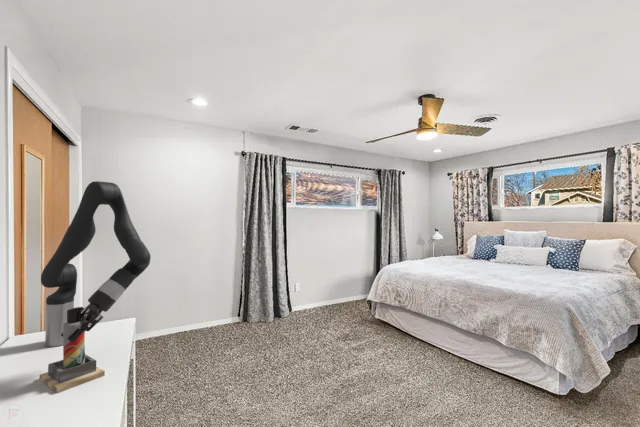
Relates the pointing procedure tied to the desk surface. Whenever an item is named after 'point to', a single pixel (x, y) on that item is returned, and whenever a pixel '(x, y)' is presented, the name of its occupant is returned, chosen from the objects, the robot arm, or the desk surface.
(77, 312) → the lotion bottle
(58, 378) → the socket board
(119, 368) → the desk surface
